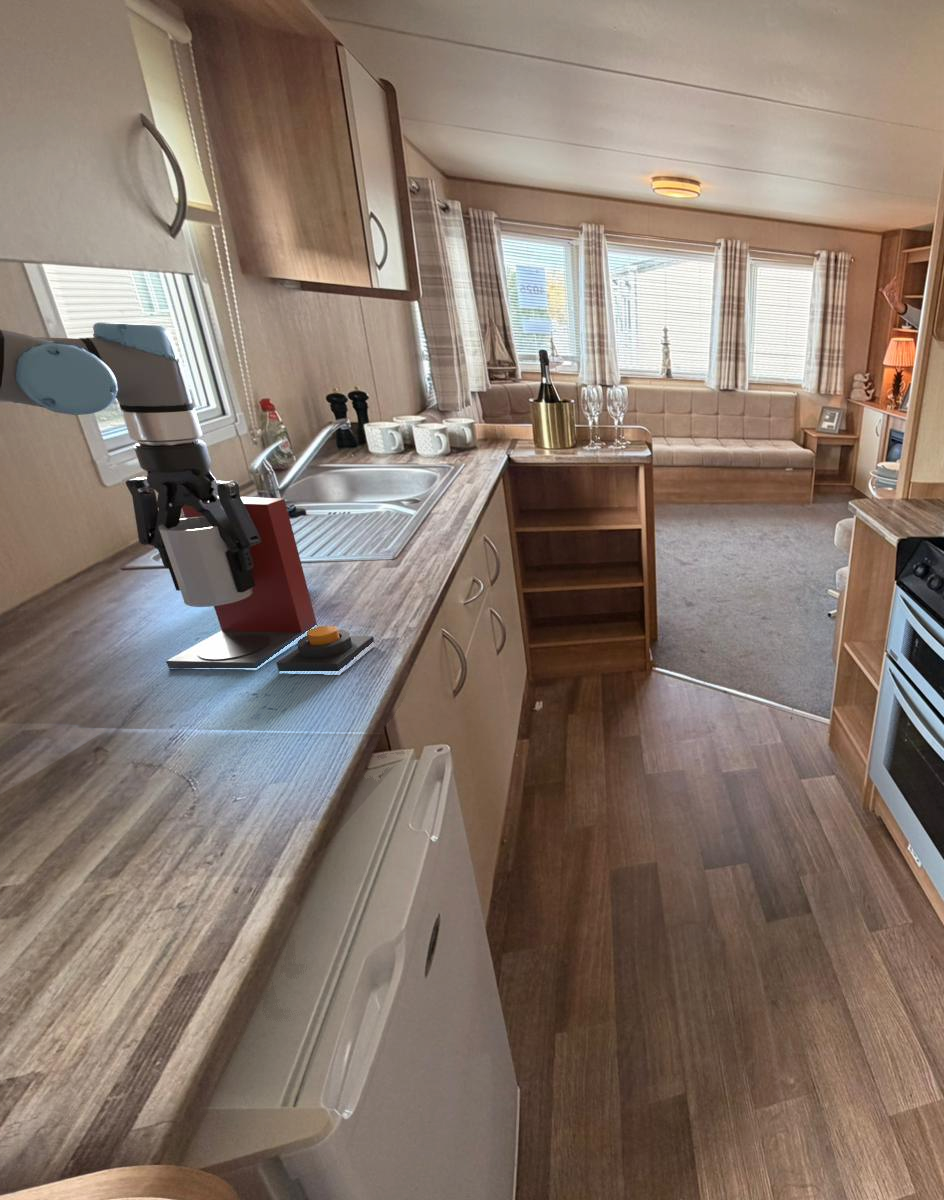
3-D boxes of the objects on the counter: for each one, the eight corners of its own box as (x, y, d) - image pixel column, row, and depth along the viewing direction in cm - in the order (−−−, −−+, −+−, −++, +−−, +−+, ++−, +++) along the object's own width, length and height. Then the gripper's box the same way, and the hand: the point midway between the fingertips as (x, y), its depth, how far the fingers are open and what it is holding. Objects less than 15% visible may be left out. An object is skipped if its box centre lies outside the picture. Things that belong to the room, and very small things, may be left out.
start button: (329, 646, 101) (327, 636, 100) (303, 645, 100) (300, 635, 100) (345, 635, 104) (342, 625, 104) (319, 634, 104) (317, 625, 103)
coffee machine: (257, 671, 100) (211, 523, 90) (168, 669, 99) (113, 519, 89) (318, 630, 113) (284, 498, 104) (241, 628, 112) (200, 495, 103)
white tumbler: (169, 606, 96) (142, 529, 91) (212, 586, 103) (189, 514, 99) (226, 607, 96) (202, 531, 92) (265, 588, 104) (245, 516, 99)
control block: (340, 676, 100) (334, 653, 98) (279, 675, 99) (272, 652, 97) (375, 647, 109) (371, 626, 107) (320, 646, 108) (315, 624, 107)
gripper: (265, 440, 95) (303, 581, 103) (114, 433, 93) (165, 577, 102) (226, 448, 88) (270, 599, 97) (62, 441, 86) (122, 595, 95)
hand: (216, 588), depth 99 cm, fingers closed on white tumbler, 8 cm apart
